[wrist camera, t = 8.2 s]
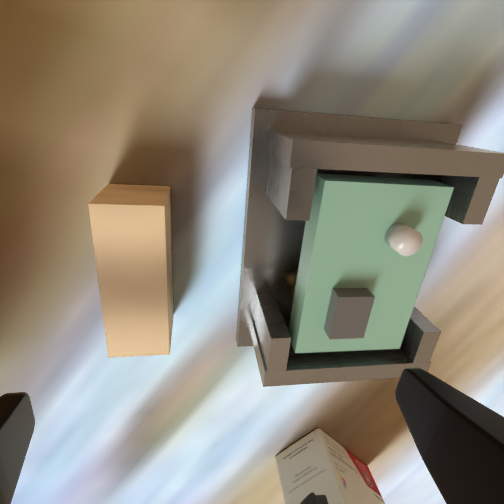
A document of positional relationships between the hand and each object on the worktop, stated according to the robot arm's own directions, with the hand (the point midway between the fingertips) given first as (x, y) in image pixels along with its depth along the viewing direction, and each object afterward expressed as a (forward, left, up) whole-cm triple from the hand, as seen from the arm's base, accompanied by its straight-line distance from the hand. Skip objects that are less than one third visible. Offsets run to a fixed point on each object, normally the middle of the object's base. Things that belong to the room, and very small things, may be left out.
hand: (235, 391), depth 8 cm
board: (-1, -7, -9) cm, 11 cm away
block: (-2, +4, -12) cm, 12 cm away
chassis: (-1, -7, -12) cm, 14 cm away
